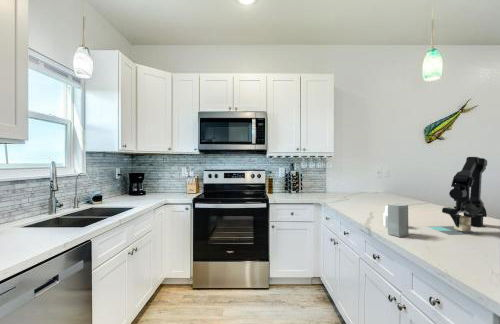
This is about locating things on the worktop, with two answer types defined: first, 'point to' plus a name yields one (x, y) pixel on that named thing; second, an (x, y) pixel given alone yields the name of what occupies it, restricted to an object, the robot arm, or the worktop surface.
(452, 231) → the mat
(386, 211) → the medicine bottle
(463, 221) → the maple block
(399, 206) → the skincare box
